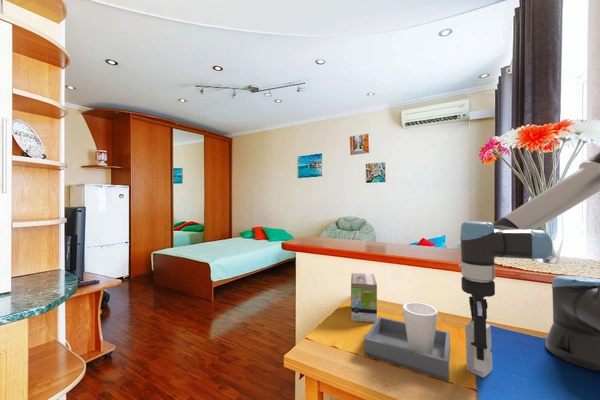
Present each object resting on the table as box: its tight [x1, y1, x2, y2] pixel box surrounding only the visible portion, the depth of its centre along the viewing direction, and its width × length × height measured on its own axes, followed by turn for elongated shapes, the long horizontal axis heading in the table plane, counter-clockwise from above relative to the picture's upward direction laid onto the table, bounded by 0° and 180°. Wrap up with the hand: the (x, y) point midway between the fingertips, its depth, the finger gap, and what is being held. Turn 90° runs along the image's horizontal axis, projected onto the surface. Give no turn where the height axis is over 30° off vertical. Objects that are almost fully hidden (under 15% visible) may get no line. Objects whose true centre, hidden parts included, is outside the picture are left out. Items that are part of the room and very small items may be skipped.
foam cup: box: [402, 301, 439, 355], centre depth 76 cm, size 10×9×13 cm
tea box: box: [350, 272, 378, 323], centre depth 105 cm, size 15×10×15 cm, turn 168°
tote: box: [363, 316, 451, 382], centre depth 78 cm, size 22×17×5 cm
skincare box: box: [464, 320, 493, 378], centre depth 70 cm, size 6×4×12 cm
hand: (479, 361), depth 70 cm, fingers open, 8 cm apart
